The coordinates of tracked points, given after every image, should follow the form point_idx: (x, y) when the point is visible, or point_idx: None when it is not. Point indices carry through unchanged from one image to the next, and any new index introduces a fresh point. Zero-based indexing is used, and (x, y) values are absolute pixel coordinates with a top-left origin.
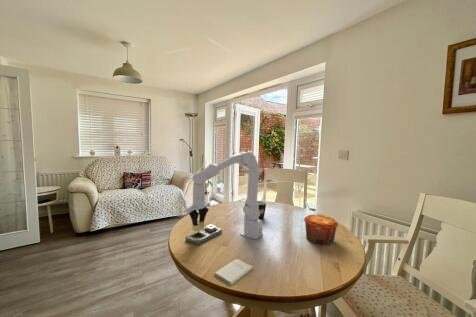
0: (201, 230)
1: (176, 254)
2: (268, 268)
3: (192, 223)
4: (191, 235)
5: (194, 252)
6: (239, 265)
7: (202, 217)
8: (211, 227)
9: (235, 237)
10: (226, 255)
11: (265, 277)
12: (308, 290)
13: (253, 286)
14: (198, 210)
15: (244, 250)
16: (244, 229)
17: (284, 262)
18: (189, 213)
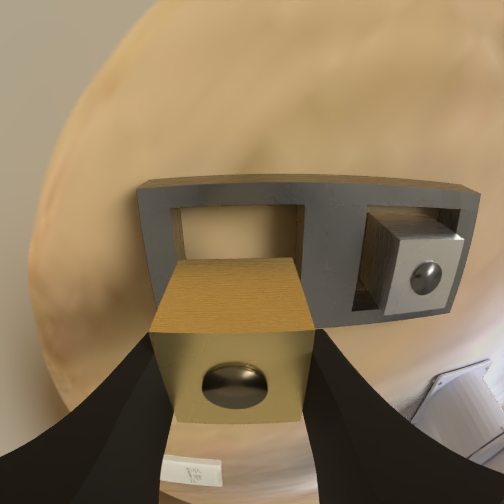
0: (357, 199)
1: (34, 287)
2: (253, 491)
3: (156, 313)
4: (200, 205)
5: (115, 345)
6: (197, 476)
7: (318, 438)
8: (408, 300)
9: (403, 380)
10: (222, 437)
11: (215, 493)
12: None
13: (171, 488)
14: (381, 500)
15: (303, 450)
16: (449, 408)
17: (303, 493)
18: (4, 480)
